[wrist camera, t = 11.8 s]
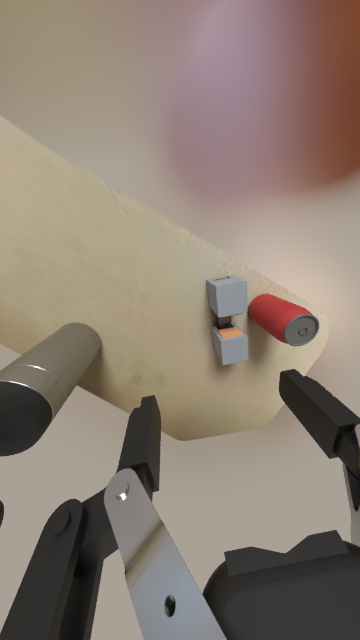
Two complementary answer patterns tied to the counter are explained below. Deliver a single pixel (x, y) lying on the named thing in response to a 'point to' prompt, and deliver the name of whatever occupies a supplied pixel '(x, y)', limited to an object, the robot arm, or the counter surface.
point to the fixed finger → (227, 296)
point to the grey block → (230, 344)
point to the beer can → (284, 319)
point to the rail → (223, 320)
